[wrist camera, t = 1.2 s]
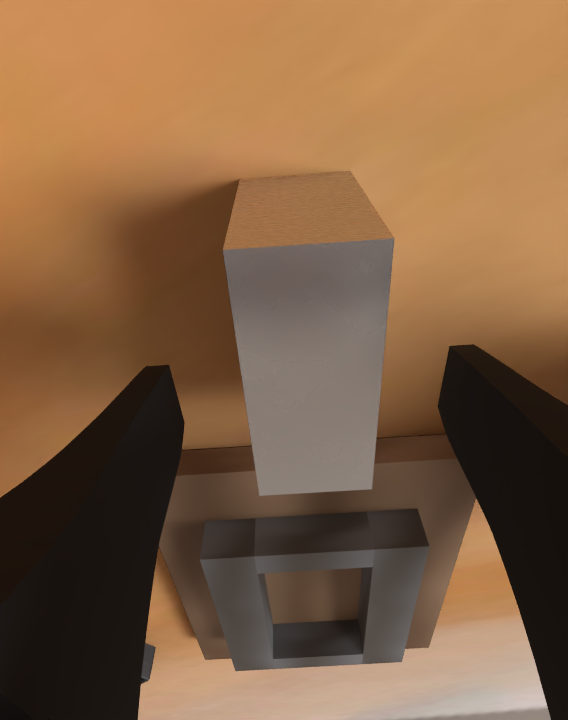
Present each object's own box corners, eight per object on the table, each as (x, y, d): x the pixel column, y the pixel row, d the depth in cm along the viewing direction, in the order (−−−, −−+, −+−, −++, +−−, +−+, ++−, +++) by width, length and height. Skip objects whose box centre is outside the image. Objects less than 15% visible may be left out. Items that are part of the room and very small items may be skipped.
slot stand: (475, 432, 20) (508, 494, 18) (422, 624, 32) (437, 680, 29) (139, 453, 21) (118, 517, 18) (207, 636, 32) (201, 693, 30)
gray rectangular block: (350, 170, 14) (394, 238, 9) (345, 372, 18) (371, 489, 13) (239, 178, 14) (222, 249, 9) (262, 377, 18) (259, 495, 14)
